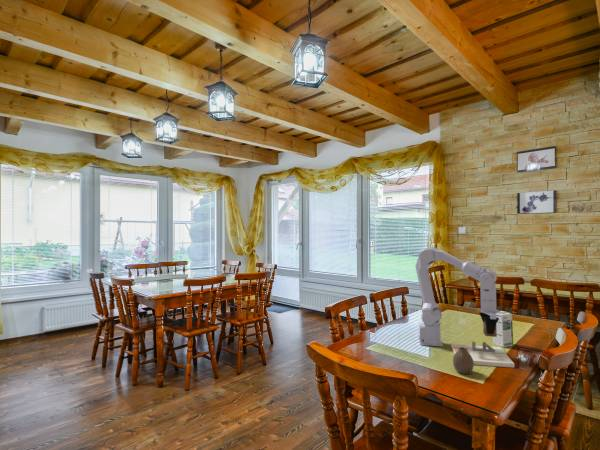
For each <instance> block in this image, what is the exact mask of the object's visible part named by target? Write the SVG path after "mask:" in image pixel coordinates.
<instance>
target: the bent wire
mask: <svg viewBox="0 0 600 450" xmlns="http://www.w3.org/2000/svg"><path fill="white" fill-rule="evenodd" d="M471 345H472V350H473V351H483V352H495V350H494V349H493V348H492V347H493V346H490V345H489V344H488V343H487V342H486V341H485V342H482V346H483V349H479V348H476V347H475V346H476V342H475V341H471ZM486 347H487V348H488V349H486Z"/></svg>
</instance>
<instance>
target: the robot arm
mask: <svg viewBox="0 0 600 450" xmlns="http://www.w3.org/2000/svg"><path fill="white" fill-rule="evenodd" d="M440 261H441V262H442V261H443V262H445V263H448V264H450V265H452V266H454V267H456V268H459V269H461V272H462V273H463V274H464V275H467V276H469V277H471V278H472V279H474V280H476V281H478V282H479V283H480V287H479V288H480V290H479V291H480V311H479V313H478V314H479V316H480V318H481V321H482V322H483V321H485V324H486V329H487V333H488V334H494V331H495V326H496V324H497V322H498V320H499V318H498V317H496V314H497V313H499V312H500V311H501V310H500V309H497V288H496V282H497V279H498V277H497V274H496V272H495V271H493V270H492V269H487V267H485V266H481V265H478V264H476V262H475V261H474V260H471V261H470V260H467V261H463V260H462V259H459V258H458V257H456V256H454V255H452V254H450V253H448V252H447V251H445V250H443V249H439V248H438V247H434V246H431V247H428V248H423V249H421V251H420V252H419V253H418V254H417V260H416V263H415V271H416V276H417V280H418V284H419V285H418V286H419V290H420V295H421V299H422V300H421V301H422V307H421V315H420V316H421V321H422V323H418V332H419V333H418V334H419V335H418V340H419V344H420V345H419V346H431V347H443V346H444V345H443V342H442V340H441V337H442V335H441V333H442V332H441V322H440V320H441V319H442V316H443V315H442V312H441V310H440V308H439V305H438V304H437V302H436V301H435V297H434V290H433V287H432V281H431V276H430V272H429V268H430V267H431V265H432V264H433V263H435V262H440Z"/></svg>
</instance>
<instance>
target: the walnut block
mask: <svg viewBox="0 0 600 450" xmlns="http://www.w3.org/2000/svg"><path fill="white" fill-rule="evenodd" d="M482 323H483V324H482V327H483V329H482V330H483V331H482V332H483V335H484V336H485V337H492V338H493V337H497V328H496V326H495V331H494V334H488V333H487V329H486V324H485V321H482Z"/></svg>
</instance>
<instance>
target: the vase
mask: <svg viewBox="0 0 600 450" xmlns="http://www.w3.org/2000/svg"><path fill="white" fill-rule="evenodd" d="M452 365H453V368H454V369H455V371H456V372H457V373H458V374H461V375H469V374H471V373H472V371H473V369H474V363H473V359H472V357H471V355H470V354H469V353H468V351H467V349H466V348H463V347H460V348H459V350H458V351H457V352H456V353H455V355H453V358H452Z"/></svg>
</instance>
